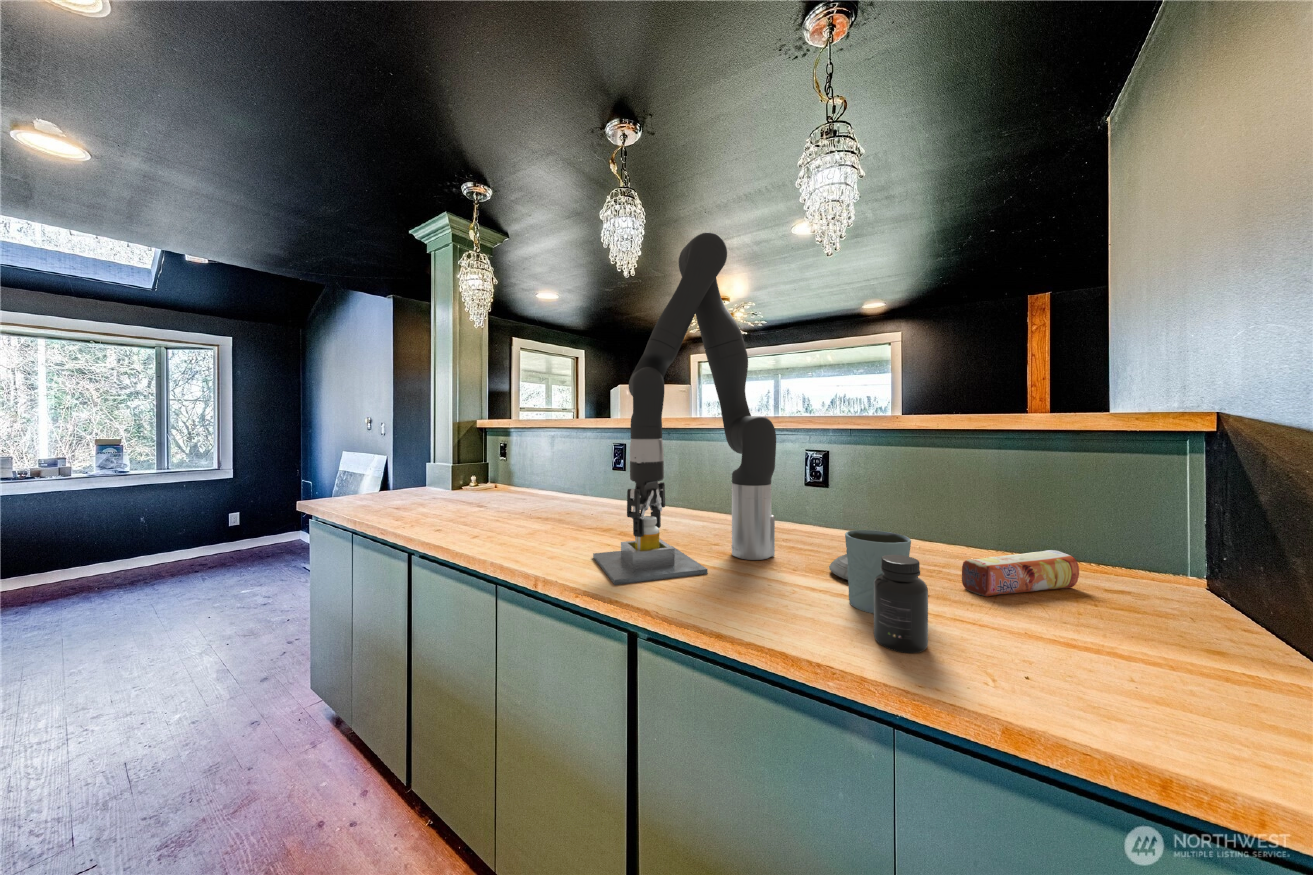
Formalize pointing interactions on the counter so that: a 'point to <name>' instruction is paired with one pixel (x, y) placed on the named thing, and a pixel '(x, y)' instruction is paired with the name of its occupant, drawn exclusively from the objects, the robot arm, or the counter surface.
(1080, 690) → the counter surface
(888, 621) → the supplement bottle
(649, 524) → the supplement bottle
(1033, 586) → the snack package
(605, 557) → the sleeve
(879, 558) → the grey-green cup
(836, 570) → the flying saucer
